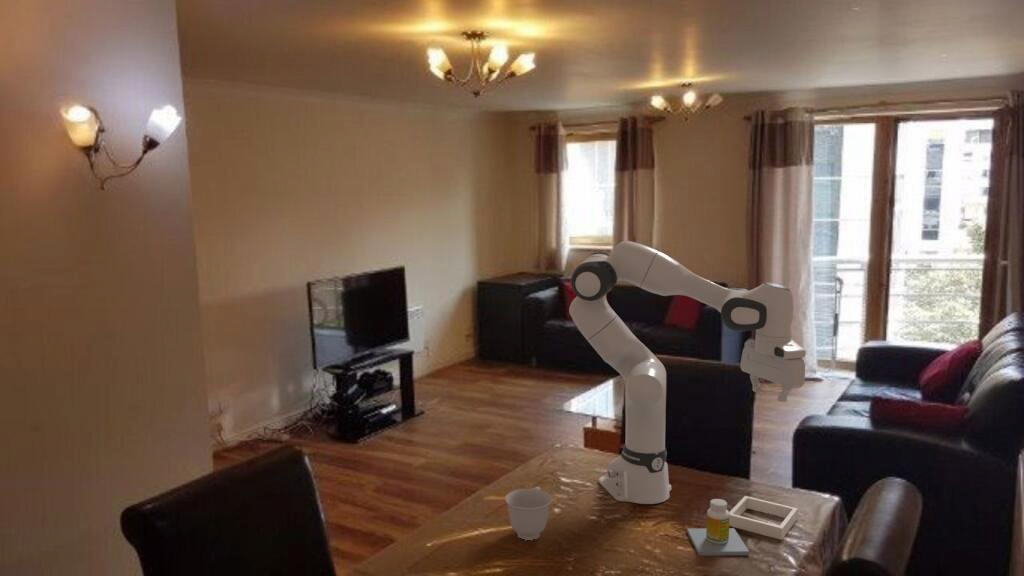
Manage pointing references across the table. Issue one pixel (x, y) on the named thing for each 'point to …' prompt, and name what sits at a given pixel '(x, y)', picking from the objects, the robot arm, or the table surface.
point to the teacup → (528, 511)
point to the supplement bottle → (718, 522)
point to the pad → (712, 549)
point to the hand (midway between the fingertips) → (769, 396)
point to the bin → (760, 526)
